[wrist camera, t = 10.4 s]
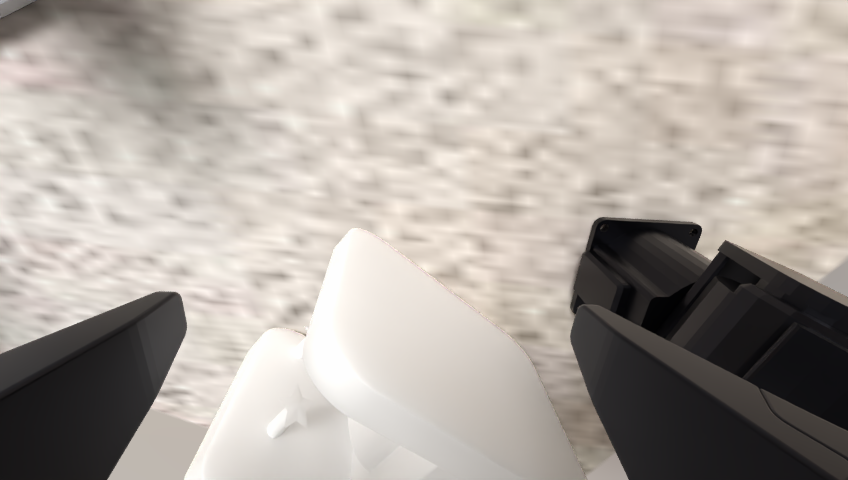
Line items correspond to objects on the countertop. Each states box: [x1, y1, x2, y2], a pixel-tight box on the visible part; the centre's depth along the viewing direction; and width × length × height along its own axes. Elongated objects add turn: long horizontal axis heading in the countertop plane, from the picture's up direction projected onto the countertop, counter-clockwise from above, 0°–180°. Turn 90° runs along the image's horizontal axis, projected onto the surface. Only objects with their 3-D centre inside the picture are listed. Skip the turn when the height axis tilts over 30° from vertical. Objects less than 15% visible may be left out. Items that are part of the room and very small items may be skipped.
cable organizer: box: [184, 228, 587, 480], centre depth 20 cm, size 15×11×12 cm
